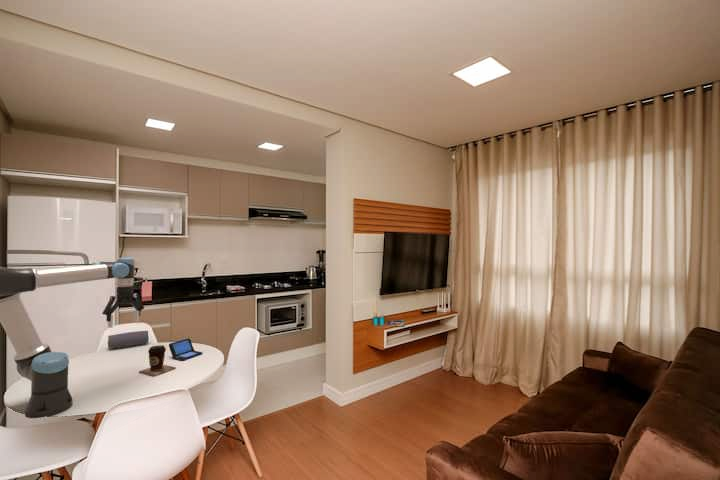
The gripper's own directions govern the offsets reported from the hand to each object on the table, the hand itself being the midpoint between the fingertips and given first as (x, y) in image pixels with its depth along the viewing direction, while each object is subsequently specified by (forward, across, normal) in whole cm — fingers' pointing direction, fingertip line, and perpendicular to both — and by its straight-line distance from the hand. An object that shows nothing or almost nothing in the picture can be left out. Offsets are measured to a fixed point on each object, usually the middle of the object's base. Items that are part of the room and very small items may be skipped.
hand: (123, 324), depth 181 cm
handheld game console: (+28, +38, -1) cm, 47 cm away
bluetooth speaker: (+28, +34, +51) cm, 68 cm away
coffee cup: (+27, +13, -9) cm, 32 cm away
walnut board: (+28, +14, -9) cm, 32 cm away
